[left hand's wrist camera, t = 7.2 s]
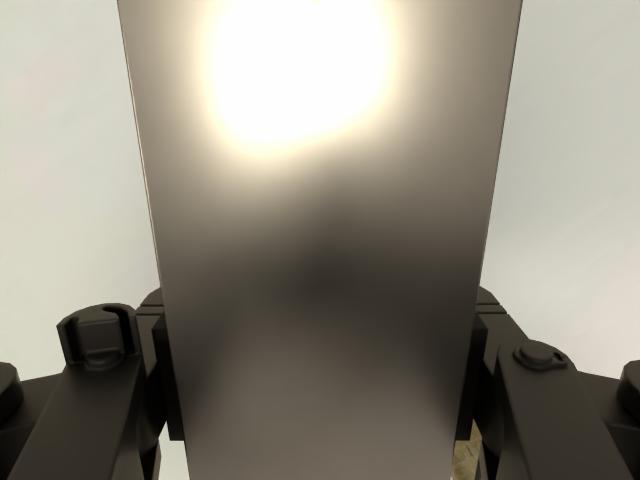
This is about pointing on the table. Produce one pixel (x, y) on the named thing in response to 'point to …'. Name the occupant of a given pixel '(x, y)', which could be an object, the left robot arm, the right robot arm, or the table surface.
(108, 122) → the table surface
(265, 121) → the bar
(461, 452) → the sculpture
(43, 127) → the table surface
